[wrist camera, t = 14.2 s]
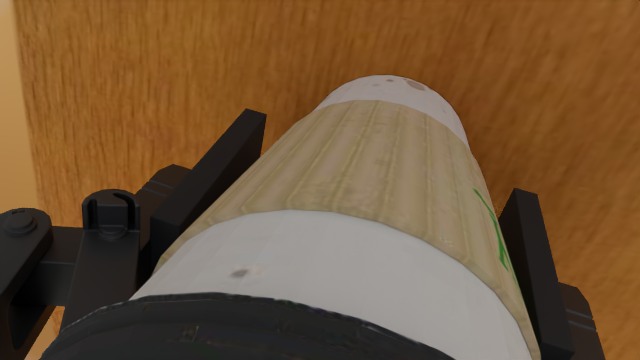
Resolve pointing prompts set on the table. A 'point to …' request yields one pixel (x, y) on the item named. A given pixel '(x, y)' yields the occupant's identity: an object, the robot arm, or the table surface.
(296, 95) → the table surface
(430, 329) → the coffee cup
